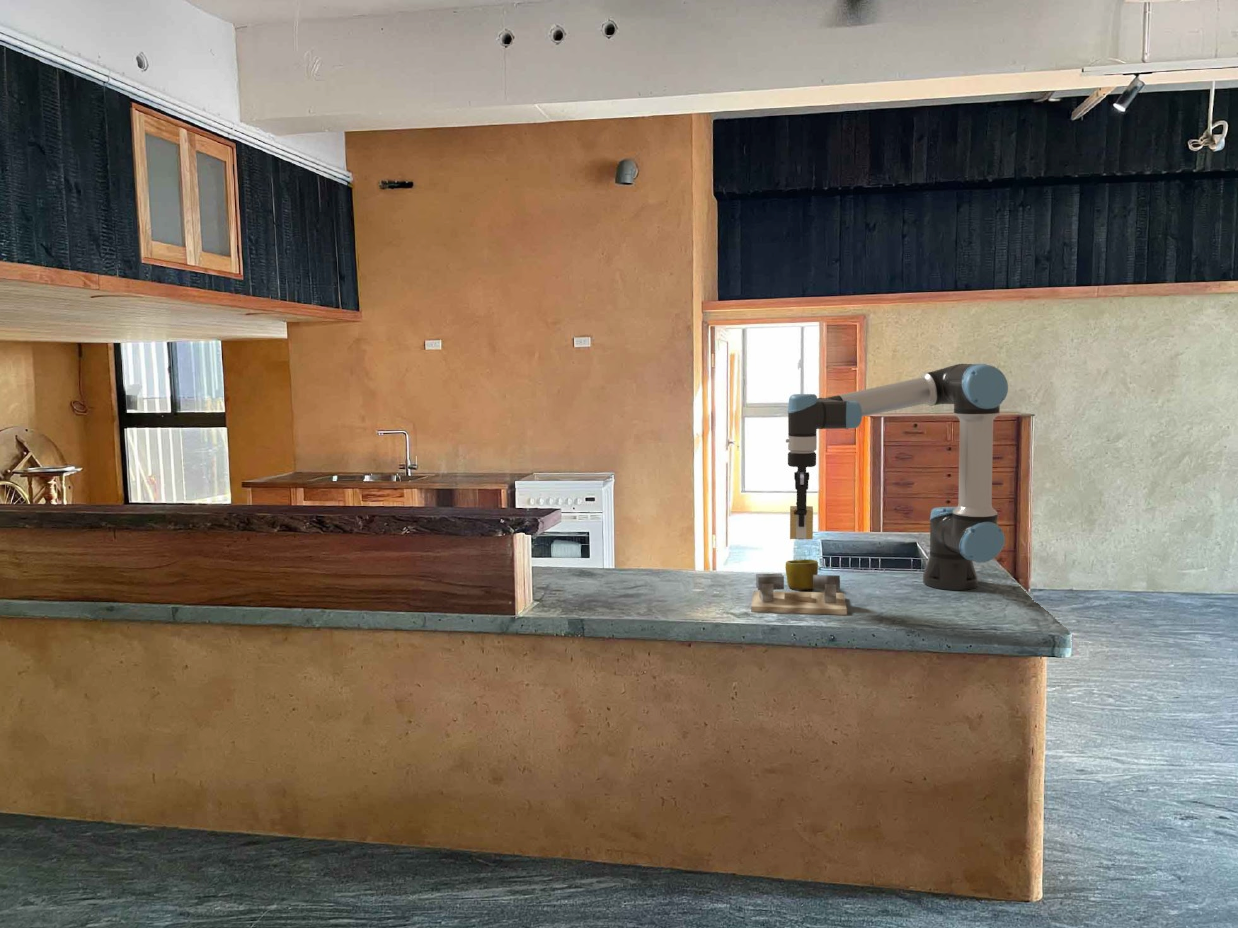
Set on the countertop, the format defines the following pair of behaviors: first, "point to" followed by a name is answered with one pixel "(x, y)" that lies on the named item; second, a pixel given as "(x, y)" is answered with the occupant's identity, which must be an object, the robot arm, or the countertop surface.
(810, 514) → the tan cardboard block
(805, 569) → the mug
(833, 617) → the countertop surface
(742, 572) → the countertop surface
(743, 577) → the countertop surface
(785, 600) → the shaft rig
